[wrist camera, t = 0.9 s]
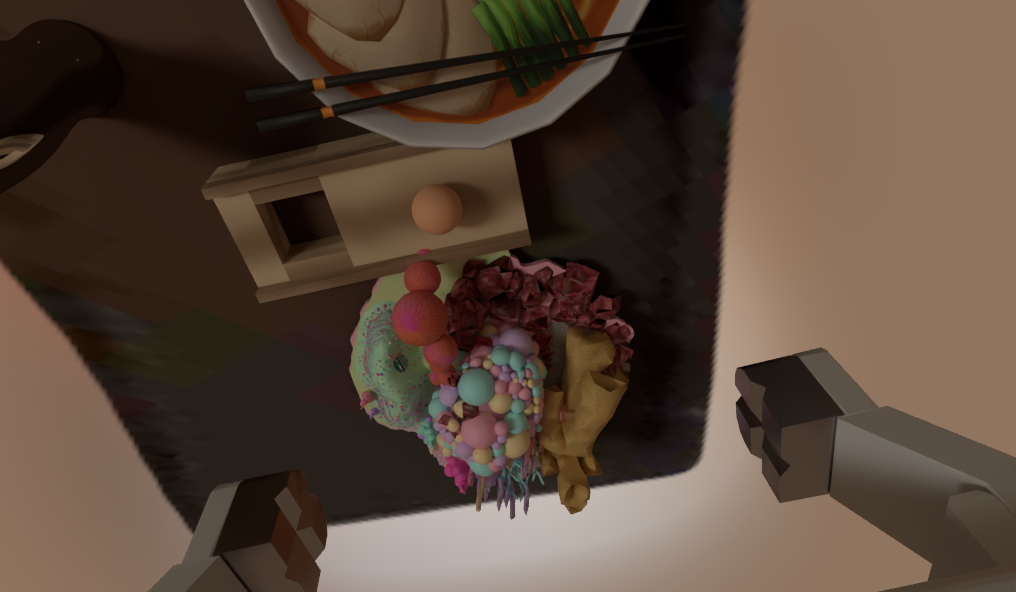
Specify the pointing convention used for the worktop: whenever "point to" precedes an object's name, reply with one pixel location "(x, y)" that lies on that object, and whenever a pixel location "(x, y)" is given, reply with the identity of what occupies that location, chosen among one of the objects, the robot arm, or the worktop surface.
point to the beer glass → (50, 92)
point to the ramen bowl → (444, 63)
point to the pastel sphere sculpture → (496, 368)
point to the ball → (437, 209)
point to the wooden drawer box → (366, 210)
